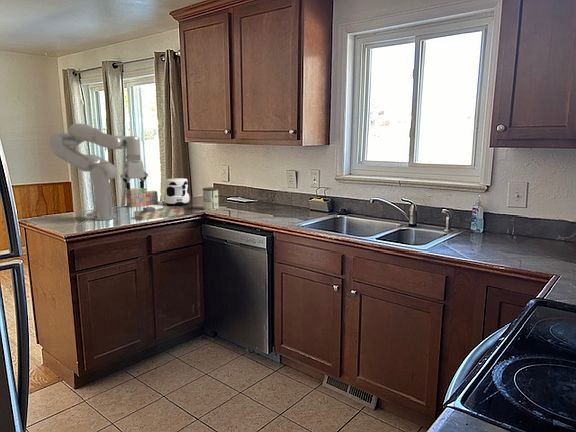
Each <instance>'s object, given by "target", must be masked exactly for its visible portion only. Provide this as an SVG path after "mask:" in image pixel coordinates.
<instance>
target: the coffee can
mask: <svg viewBox="0 0 576 432" xmlns="http://www.w3.org/2000/svg"><path fill="white" fill-rule="evenodd" d="M202 204H203V205H202V206H203V210H204V211H217V210H216V209H218V210H219V209H220V207H219V205H220V204H219V188H218V187H216V186H215V187H213V186H211V187H203V188H202Z"/></svg>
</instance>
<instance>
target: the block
mask: <svg viewBox="0 0 576 432" xmlns="http://www.w3.org/2000/svg"><path fill="white" fill-rule="evenodd" d="M155 209H156V208H155V207H153V206H144V207H142V210H143V213H147V212H155Z"/></svg>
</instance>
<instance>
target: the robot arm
mask: <svg viewBox="0 0 576 432" xmlns="http://www.w3.org/2000/svg"><path fill="white" fill-rule="evenodd" d="M84 142H89V143H91V144H95V145H97V146H99V147H102V148H107V149H110V150H125V154H126V155H125V156H124V157H123V159H125V162H124V172H123V173H122V174H120V175H119V177H120V178H121V180H122V181H123V182H124V183H125V190H126V189H127V190H130V189H131V183H130V180H133V179H139V180H140V181H139V188H142V189H144V188H145V181H146V180H147V177H148V176H149V174H148V173H147V172H146V171H145V167H144V163H143V160H142V159H141V143H140V137H139V136H137V135H136V136H135V135H133V136H131V135H130V136H129V135H128V136H126V135H112V134H108V133H105V132H102V131H101V130H100V129H99V128H97V127H92V126H90V125H88V124H87V123H73V124H71V125H70V126H69V128H68V133H67V132H66V133H64V132H63V133H59V132H58V133H54V134H53V135H51V136H50V138H49V142H48V144H49V148H50V150H51V152H52V153H53V154H54V155H55V156H56V157H57V158H60V159H61V160H63V161H64V162H67V163H68V164H70V165H71V166H73V167H75V168H77V169H78V170H80V171H82V172H84V173H85V172H86V173H87V172H90V177H91V181H92V187H93V200H94V201H93V203H94V211H93V212H91V213H86V217H87V218H91V217H92V219H93V220H94V221H108V220H109V221H110V220H115V219H116V218H117V215H115V214H114V211H113V210H114V209H113V195H112V185H111V183H110V180H113V179H115V178H116V177H117V176H118V169H117V166H115V165H114V164H113V163H112V162H109V161H107V160H105V159H104V158H103V157H101V156H98V155H96V154H95V155H94V154H84V153H82V152H80V151H78V150H76V149H75V147H77V146H78V145H80V144H82V143H84Z"/></svg>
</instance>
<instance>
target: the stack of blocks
mask: <svg viewBox="0 0 576 432" xmlns="http://www.w3.org/2000/svg"><path fill="white" fill-rule="evenodd" d="M125 200H126V201H125V202H126V203H125V204H126V207H127V208H133V209H134V208H140V207H148V206H153V205H158V204H159V198H158V191H157V190H147V188H145V187H144V189H142V188H140V187H136V188H130V190H127V189H126V188H125Z"/></svg>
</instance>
